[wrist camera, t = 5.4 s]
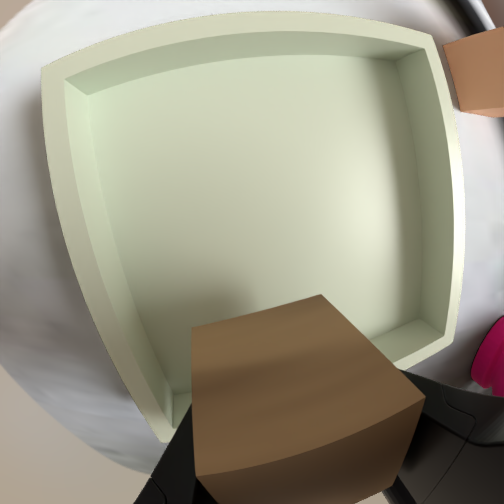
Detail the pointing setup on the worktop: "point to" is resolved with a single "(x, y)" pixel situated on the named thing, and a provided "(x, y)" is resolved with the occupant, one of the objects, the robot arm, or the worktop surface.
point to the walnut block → (297, 408)
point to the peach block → (479, 72)
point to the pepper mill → (491, 360)
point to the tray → (255, 185)
